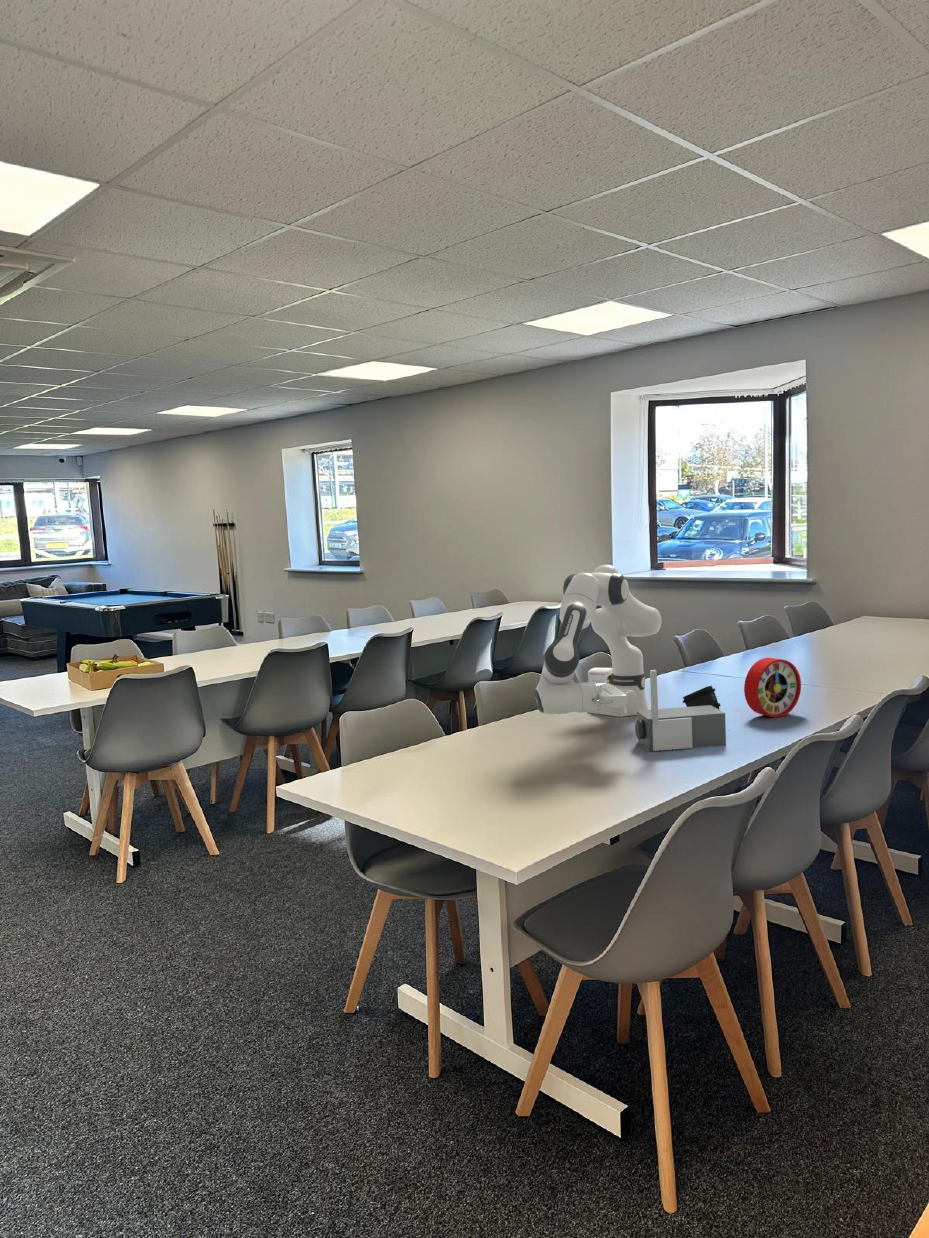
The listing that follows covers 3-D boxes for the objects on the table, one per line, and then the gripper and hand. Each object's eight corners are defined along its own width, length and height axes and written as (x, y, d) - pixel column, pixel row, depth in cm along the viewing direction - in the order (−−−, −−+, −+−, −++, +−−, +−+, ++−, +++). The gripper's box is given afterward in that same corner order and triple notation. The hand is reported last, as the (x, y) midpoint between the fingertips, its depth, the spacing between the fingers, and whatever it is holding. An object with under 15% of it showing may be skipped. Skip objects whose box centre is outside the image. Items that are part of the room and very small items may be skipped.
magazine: (724, 730, 270) (706, 686, 274) (694, 742, 280) (677, 699, 284) (731, 728, 273) (713, 684, 276) (701, 739, 283) (684, 697, 286)
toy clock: (757, 721, 286) (755, 663, 284) (744, 718, 292) (743, 661, 289) (801, 713, 294) (800, 656, 292) (788, 710, 300) (787, 654, 297)
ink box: (615, 695, 342) (613, 667, 341) (609, 700, 334) (608, 671, 333) (594, 695, 346) (593, 667, 344) (588, 699, 338) (587, 670, 337)
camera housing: (644, 752, 257) (643, 719, 256) (633, 742, 269) (631, 711, 268) (726, 745, 259) (725, 713, 258) (711, 735, 271) (710, 705, 270)
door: (654, 751, 256) (651, 671, 253) (652, 750, 257) (649, 670, 255) (693, 748, 257) (690, 668, 254) (691, 746, 258) (688, 667, 256)
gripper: (597, 692, 242) (644, 689, 244) (581, 681, 263) (625, 677, 264) (597, 714, 243) (645, 711, 244) (582, 701, 263) (625, 697, 264)
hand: (634, 693), depth 254 cm, fingers closed
